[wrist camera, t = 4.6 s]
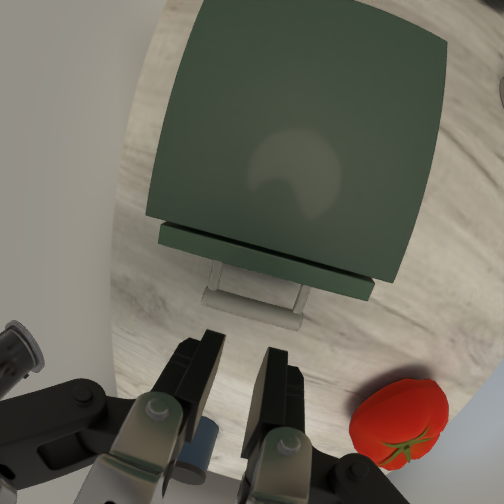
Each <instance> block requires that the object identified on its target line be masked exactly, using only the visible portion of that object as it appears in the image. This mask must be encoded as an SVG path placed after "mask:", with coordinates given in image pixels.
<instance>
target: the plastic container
mask: <svg viewBox="0 0 504 504" xmlns="http://www.w3.org/2000/svg"><path fill="white" fill-rule="evenodd" d="M218 431H219V429H218V426H217V425H216V423H214V422H213V421H212V420H210V419H208V418H206V417H203V416H201V418H200V420H199V423H198V426H197V429H196V431H195V434H194V437H193V440H192V442H191V444H189V443H186V442H184V443H183V446H182V448H181V451H180V454H179V455H178V457H177V461H176V464H175V467H174V470H173V474H172V477H171V478H173V479H175V480H177V481H180V482H182V483H186V484H191V485H201V484H203V483H204V482H205V478H206V472H207V469H208V465H209V462H210V458H211V455H212V452H213V448H214V445H215V441H216V438H217V434H218Z"/></svg>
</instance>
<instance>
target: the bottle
mask: <svg viewBox="0 0 504 504" xmlns="http://www.w3.org/2000/svg"><path fill="white" fill-rule="evenodd" d="M500 95H501V99H502V103H503V106H504V77H503V78H502V80H501V83H500Z"/></svg>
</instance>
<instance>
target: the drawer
mask: <svg viewBox="0 0 504 504" xmlns="http://www.w3.org/2000/svg"><path fill="white" fill-rule="evenodd" d="M158 244H161V245H164V246H168V247H171V248H175V249H178V250H182V251H185V252H188V253H192V254H195V255H199V256H202V257H206V258H209V259H213V260H214V262H213V267H212V271H211V276H210V281H209V286H207V287H206V288H205V290H204V293H203V297H202V305H204V306H207V307H210V308H214V309H217V310H220V311H224V312H227V313H230V314H234V315H237V316H241V317H244V318H248V319H252V320H255V321H259V322H263V323H266V324H270V325H274V326H278V327H282V328H286V329H290V330H294V331H299V329H300V327H301V324H302V321H303V312H302V311H303V308H304V305H305V303H306V300H307V297H308V294H309V292H310V289H311V287H314V288H318V289H322V290H326V291H329V292H333V293H337V294H341V295H345V296H348V297H352V298H356V299H360V300H364V301H368V299H369V297H370V295H371V292H372V290H373V287H374V285H375V282H374V281H373V280H372V278H371V277H368V276H365V275H361V274H358V273H354V272H350V271H347V270H343V269H340V268H336V267H333V266H329V265H326V264H322V263H318V262H315V261H311V260H308V259H304V258H301V257H297V256H293V255H290V254H286V253H282V252H279V251H275V250H272V249H268V248H264V247H261V246H257V245H253V244H250V243H246V242H243V241H239V240H235V239H232V238H228V237H224V236H221V235H217V234H213V233H209V232H206V231H202V230H198V229H195V228H191V227H187V226H184V225H180V224H176V223H172V222H169V221H167V222H165V223H162V224H161V226H160V233H159V240H158ZM223 263H227V264H230V265H234V266H237V267H241V268H245V269H248V270H252V271H255V272H259V273H263V274H266V275H270V276H273V277H277V278H281V279H284V280H288V281H292V282H296V283H299V284H301V287H300V290H299V293H298V296H297V299H296V301H295V304H294V307H293V310H292V309H288V308H284V307H280V306H276V305H273V304H269V303H265V302H262V301H258V300H254V299H251V298H247V297H244V296H240V295H237V294H233V293H230V292H226V291H223V290H219V289H218V285H219V281H220V276H221V272H222V267H223Z"/></svg>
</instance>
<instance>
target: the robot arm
mask: <svg viewBox="0 0 504 504" xmlns="http://www.w3.org/2000/svg"><path fill="white" fill-rule="evenodd" d="M225 337H226V335H225V334H222V333H218V332H215V331H212V330H208V329H207V330H206V331H205V333H204V335H203V337H202V339H201V341H199V340H196V339H193V338H190V337H189V338H188V339H186V340H184V341H183V342H181V343H179V345H178V347H177V348H176V350H175V352H174V354H173V355H172V356H171V358H170V360H169V362H168V363H167V365H166V366H165V368H164V370H163V372H162V373H161V375H160V377H159V378H158V380H157V382H156V383H155V385H154V387H153V388H152V390H151V391H150V392H147V393H144V394H142V395H140V396H139V397H138V398H137V399H122V398H116V397H110V396H106V394H105V391H104V390H103V388H102V387H101V386H100V385H99V384H97V383H96V382H94V381H92V380H89V379H82V378H80V379H74V380H71V381H67V382H65V383H61V384H58V385H55V386H51V387H48V388H45V389H42V390H39V391H35V392H31V393H28V394H24V395H21V396H17V397H14V398H10V399H6V400H2V401H0V504H16V502H17V490H21V489H24V488H28V487H31V486H34V485H37V484H40V483H44V482H47V481H50V480H53V479H55V478H58V477H61V476H64V475H66V474H69V473H71V472H74V471H77V470H79V469H82V468H84V467H87V466H89V465H91V464H93V466H92V467H91V469H90V471H89V473H88V475H87V477H86V479H85V481H84V483H83V485H82V487H81V489H80V491H79V493H78V495H77V497H76V499H75V501H74V504H163V503H164V500H165V497H166V493H167V490H168V487H169V483H170V480H171V477H172V474H173V470H174V467H175V464H176V461H177V457H178V455H179V454H180V451H181V448H182V446H183V443H184V442H186V443H189V444H191V442H192V440H193V437H194V434H195V431H196V429H197V426H198V423H199V420H200V418H201V415H202V412H203V409H204V407H205V404H206V401H207V398H208V396H209V393H210V390H211V387H212V384H213V382H214V379H215V376H216V373H217V369H218V365H219V362H220V358H221V354H222V349H223V345H224V341H225ZM35 367H36V360H35V357H34V354H33V352H32V350H31V348H30V347H29V345H28V344H27V342H26V341H25V339H24V338H23V337H22V336H21V335H20V334H19V333H18V332H17V331H15V330H13V329H10V330H8V329H6V330H4V331H3V332H1V333H0V400H1V399H2V398H3V397H4V396H5V395H6V394H7V393H8V392H9V391H10V390H11V389H12V388H13V387H14V386H15V385H16V384H17V383H18V382H19V381H20V380H21V379H22V378H25V379H26V378H27V377H28V376H29V374H28V373H29V372H30V371H31V370H33V369H34V368H35ZM240 458H245V459H248V463H247V469H246V471H245V472H244V474H243V476H242V480H241V484H240V487H239V491H238V494H237V498H236V501H235V504H410V503H409V502H408V501H407V500H406V499H405V498H404V497H403V495H402V494H401V493H400V492H399V491H398V490H397V489H396V487H395V486H394V485H393V484H392V483H391V482H390V480H389V479H388V478H387V477H386V476H385V475H384V473H383V472H382V471H381V470H380V469H379V468H378V466H377V465H376V464H375V463H374V462H373V461H372V460H371V459H370V458H369V457H367V456H365V455H363V454H359V453H351V454H347V455H345V456H343V457H342V458H340V459H339V458H336V457H333V456H331V455H328V454H325V453H323V452H321V451H319V450H317V449H316V448H314V447H313V446H312V444H311V441H310V439H309V438H308V437H307V436H306V435H305V408H304V377H303V375H302V374H301V372H300V370H299V368H298V367H295V366H290V365H288V351H285V350H280V349H276V348H272V347H268V348H267V351H266V354H265V356H264V359H263V362H262V365H261V367H260V370H259V373H258V375H257V378H256V382H255V385H254V390H253V395H252V401H251V406H250V411H249V417H248V422H247V427H246V432H245V437H244V442H243V447H242V452H241V457H240Z"/></svg>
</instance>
